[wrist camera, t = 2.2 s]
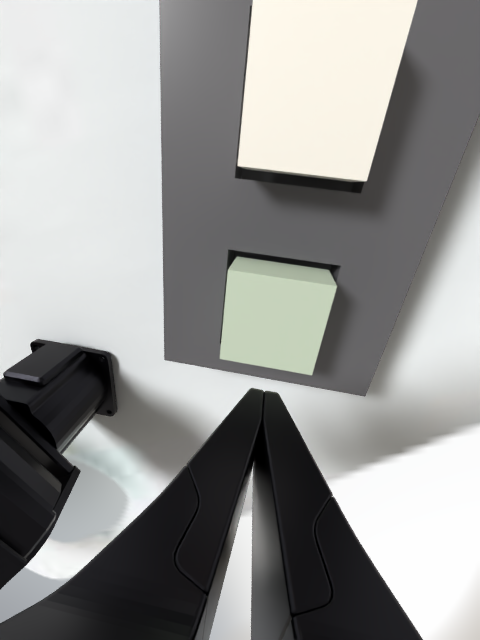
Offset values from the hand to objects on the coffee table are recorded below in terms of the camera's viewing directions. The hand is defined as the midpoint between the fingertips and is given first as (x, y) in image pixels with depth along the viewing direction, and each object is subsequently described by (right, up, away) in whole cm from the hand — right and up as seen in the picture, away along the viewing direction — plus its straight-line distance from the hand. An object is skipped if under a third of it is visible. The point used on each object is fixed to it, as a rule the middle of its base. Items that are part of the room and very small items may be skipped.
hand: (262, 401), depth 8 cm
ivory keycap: (+2, +11, +3) cm, 11 cm away
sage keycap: (+1, +3, +7) cm, 7 cm away
